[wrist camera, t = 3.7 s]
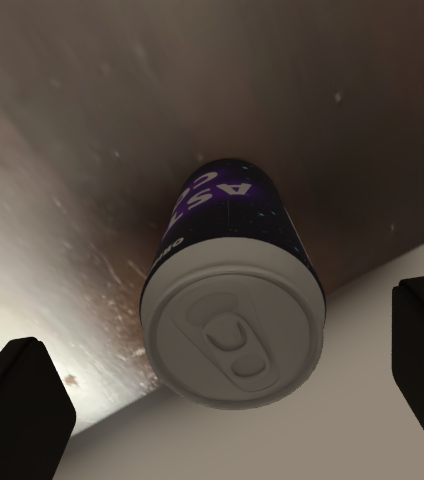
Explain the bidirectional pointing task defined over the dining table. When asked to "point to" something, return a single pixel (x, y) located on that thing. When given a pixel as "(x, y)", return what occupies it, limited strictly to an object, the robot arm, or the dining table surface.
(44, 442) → the robot arm
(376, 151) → the dining table surface
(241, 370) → the beverage can
